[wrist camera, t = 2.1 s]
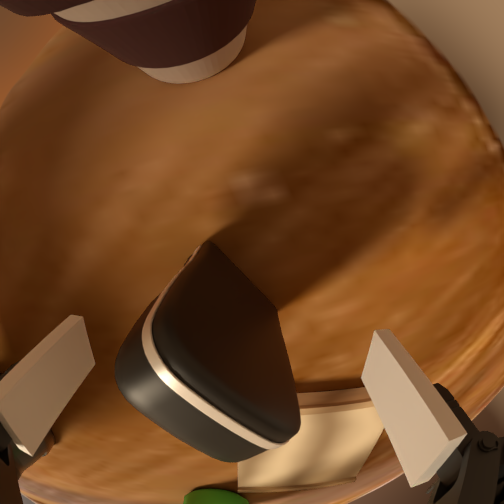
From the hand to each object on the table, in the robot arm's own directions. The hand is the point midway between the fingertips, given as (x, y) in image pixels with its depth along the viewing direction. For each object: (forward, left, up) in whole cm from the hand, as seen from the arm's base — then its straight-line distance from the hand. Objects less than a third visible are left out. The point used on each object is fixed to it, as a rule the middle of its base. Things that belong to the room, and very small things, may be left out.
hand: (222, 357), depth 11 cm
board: (+8, -17, -7) cm, 20 cm away
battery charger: (0, 0, -8) cm, 8 cm away
